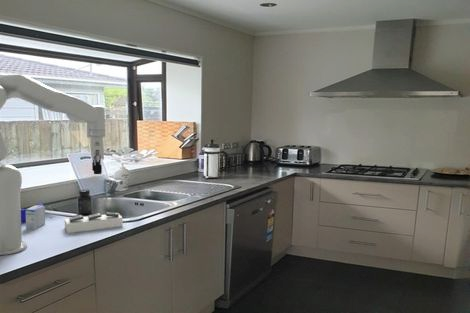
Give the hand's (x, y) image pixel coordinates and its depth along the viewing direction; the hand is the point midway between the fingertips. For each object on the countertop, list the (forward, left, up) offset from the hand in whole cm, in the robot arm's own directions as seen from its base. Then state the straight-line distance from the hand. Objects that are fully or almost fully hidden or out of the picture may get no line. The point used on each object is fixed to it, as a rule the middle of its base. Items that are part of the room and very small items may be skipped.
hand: (96, 172), depth 174 cm
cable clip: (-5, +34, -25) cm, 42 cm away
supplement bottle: (+12, +18, -24) cm, 32 cm away
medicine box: (-13, +23, -24) cm, 36 cm away
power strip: (-3, 0, -24) cm, 24 cm away
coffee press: (+135, +2, -24) cm, 137 cm away
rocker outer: (+2, -6, -19) cm, 20 cm away
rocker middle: (-4, -2, -19) cm, 19 cm away
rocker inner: (-10, +3, -19) cm, 22 cm away
